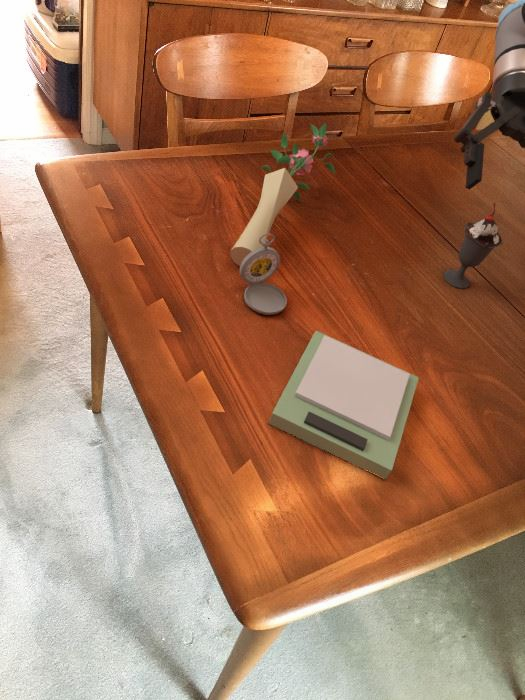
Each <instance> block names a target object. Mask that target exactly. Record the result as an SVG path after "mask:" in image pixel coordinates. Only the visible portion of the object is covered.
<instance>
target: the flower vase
mask: <svg viewBox="0 0 525 700" xmlns="http://www.w3.org/2000/svg"><path fill="white" fill-rule="evenodd" d="M310 127H311V131H312V134H313V135H311V138H312V139H311V141H312V144H314V146H315V150H314V152H313V154H309V153H310V150H307V149H305V148H303V147H302V148H301V149H300V148H299V144H298V143H297V142H295V143H294V144H293V146H292V150H291V154H287V152H286V150H284V152H285V153H284V154H285V155H284V156H283V153H282V152H279V151H278V150H275V149H269V151H270V153H271V155H272V156H273V158H274V159H276V162H275V163H278V164H280V165H281V164H288V165H289V166H288V168H289V169H288V170H287V168H286V167H283V168H280V169H278V170H274V171H272V169H271V167H270V165H268V164H263V165H262V166H260V168H261V169H262V170H264V171H267V172H269V173H267V174H265V175H264V179H263V184H262V190H261V195H260V199H259V202H258V205H257V208H256V209H255V211H254V213H253V215H252V217H250V220H249V221H248V223H247V225H246V227H245V228H244V230H243V232H242V233H241V235H240V236H239V238H238V239H237V240H236V242H235V244H234V245H233V246H232V248H231V249H230V252H229V253H230V254H229V257H230V258H231V260H232V262H233V263H234V264H236V265H237V266H239V267H240V265H241V263H242V261H243V259H244V258H245V257H246V256H247V255H248V254H249V253H251V252H252V251H254V250H256V249H258V248H261V247H264V246H263V245H262V244H260V242H259V239H260V237H261V236H263V235H264V234H270V233H271V229H272V227H273V224H274V222H275V220H276V217H277V216H278V214H279V213H280V212H281V211H282V209H283V208H284V207H285V206H286V204H287V203H288V202H289V200H290V199H291V198H292V196H293V197H294V198H295V199H296V200H298V201H299V202H301V199H302V196H301V194H300V192H299V191H297V190H298V189H302V190H305V191H311V188H310V187H309V186H308V184H306V183H304V182H301V181H300V182H298V184H297V183H296V181H295V180H294V178H293V177H292V176H293V175H294V174H296V175H297V176H299V175H303V176H305V171H306V172H307V173H309V174H311V171H312V168H313V163H314V158H315V159H316V160H317V161H318V162H320V163H322V164H324V165H325V167H326V168H327V169H328V170H329V171H330V172H332V173H333V174H337V173H336V169H335V167H334V165H333V164H332V162H330V161H329V162H327V163H326V162H323V160H324V159H325V158H328V157H334V156H335V155H334V154H333V153H327V154H325V155H324V157H323V159H318V158H317V157H314V156H315V154H317V151H318V148H324V147H327V144H328V143H329V142H328V140H329V139H328V136H327V135H326V133H327V129H328V128H327V123H326V122H325V123H324V124H322V125H321V126H320V128H319V129H318V127H317V126H315V125H313V124H312V123H311V124H310ZM280 147H282V148H284V149H286V148H287V147H289V140H288V136H287V135H286V133H285V132H283V134H282V135H281V137H280ZM290 169H291V170H290ZM268 237H269V235H266V236H264V237H262V239H261V242H262V243H263V242H265V241H266V240H268Z"/></svg>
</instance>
